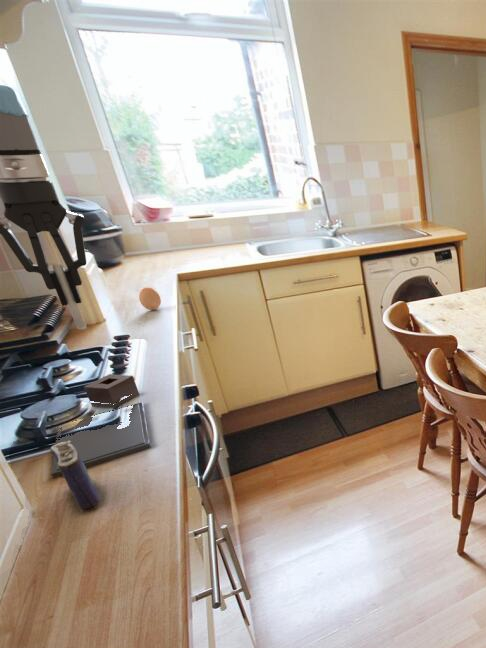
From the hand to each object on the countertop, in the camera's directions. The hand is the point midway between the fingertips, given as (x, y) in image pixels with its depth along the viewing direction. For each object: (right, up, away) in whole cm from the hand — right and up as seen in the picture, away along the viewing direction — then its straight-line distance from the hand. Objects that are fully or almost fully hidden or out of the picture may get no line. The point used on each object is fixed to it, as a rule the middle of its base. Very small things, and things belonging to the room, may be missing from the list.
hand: (71, 302), depth 94 cm
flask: (+19, -34, -17) cm, 42 cm away
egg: (-36, +3, +69) cm, 78 cm away
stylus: (0, -6, +2) cm, 6 cm away
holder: (-1, -21, +12) cm, 24 cm away
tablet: (+8, -27, -2) cm, 28 cm away
